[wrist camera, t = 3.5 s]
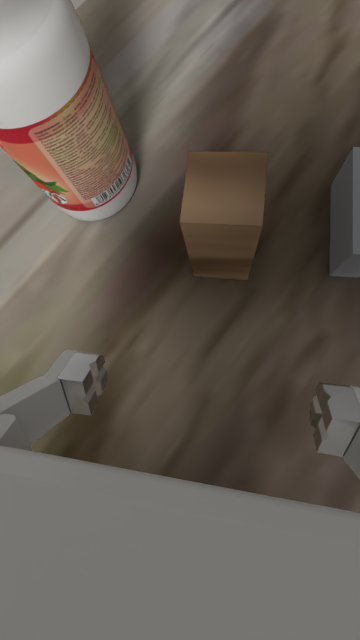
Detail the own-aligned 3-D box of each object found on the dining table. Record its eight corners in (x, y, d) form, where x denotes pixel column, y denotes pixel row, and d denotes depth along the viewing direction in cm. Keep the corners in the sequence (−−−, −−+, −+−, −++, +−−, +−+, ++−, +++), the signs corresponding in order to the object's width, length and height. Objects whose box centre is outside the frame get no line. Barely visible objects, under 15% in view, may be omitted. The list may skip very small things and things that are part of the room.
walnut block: (247, 280, 27) (262, 225, 18) (193, 276, 28) (179, 222, 18) (251, 230, 28) (268, 152, 18) (199, 227, 29) (188, 151, 19)
